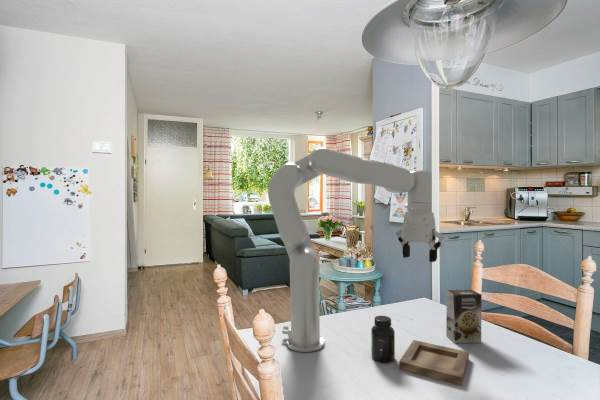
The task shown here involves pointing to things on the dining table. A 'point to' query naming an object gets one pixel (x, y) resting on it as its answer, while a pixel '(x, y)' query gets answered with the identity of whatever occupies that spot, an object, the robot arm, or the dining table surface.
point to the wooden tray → (435, 362)
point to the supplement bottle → (383, 340)
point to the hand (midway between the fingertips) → (419, 259)
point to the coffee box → (463, 316)
